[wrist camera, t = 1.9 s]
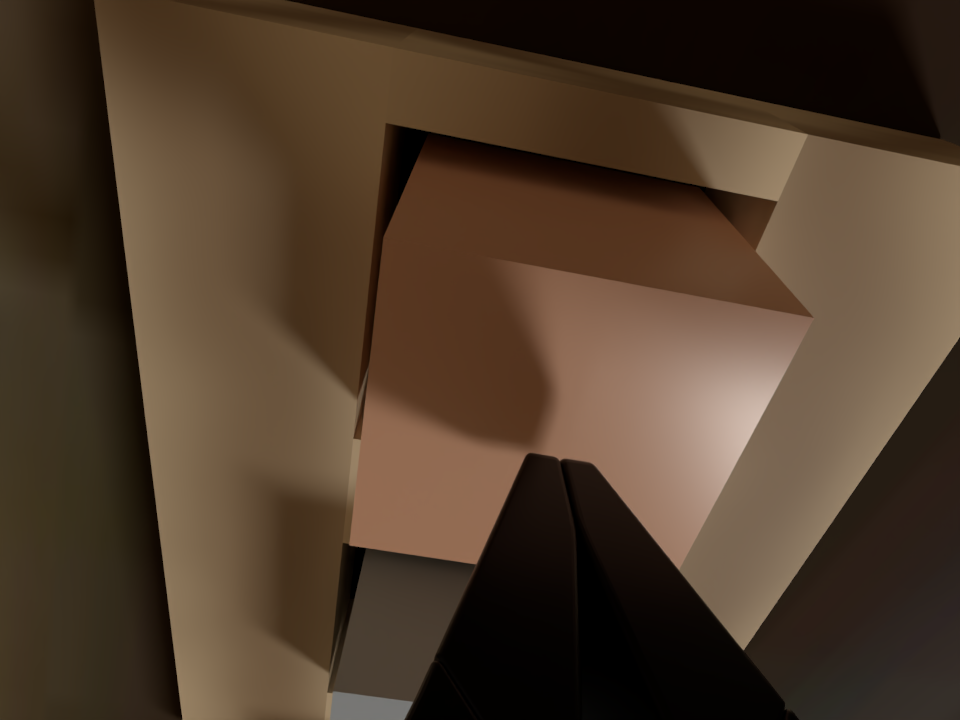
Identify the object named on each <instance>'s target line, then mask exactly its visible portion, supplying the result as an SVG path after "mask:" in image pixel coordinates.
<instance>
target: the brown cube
mask: <svg viewBox="0 0 960 720" xmlns="http://www.w3.org/2000/svg"><path fill="white" fill-rule="evenodd" d="M813 320H814V317H813V316H812V315H811V314H810V313H809V311H808V310H807V309H806V308H805V307H804V306H803V305H802V303H801V302H800V301H799V300H798V299H797V298H796V297H795V296H794V294H793V293H792V292H791V291H790V290H789V289H788V288H787V286H786V285H785V284H784V283H783V282H782V281H781V280H780V278H779V277H778V276H777V275H776V274H775V273H774V272H773V271H772V269H771V268H770V267H769V266H768V265H767V264H766V263H765V261H764V260H763V259H762V258H761V257H760V256H759V255H758V254H757V252H756V251H755V250H754V249H753V248H752V247H751V246H750V244H749V243H748V242H747V241H746V240H745V239H744V238H743V236H742V235H741V234H740V233H739V232H738V231H737V230H736V229H735V227H734V226H733V225H732V224H731V223H730V222H729V221H728V219H727V218H726V217H725V216H724V215H723V214H722V213H721V211H720V210H719V209H718V208H717V207H716V206H715V205H714V204H713V202H712V201H711V200H710V199H709V198H708V197H707V196H706V194H705V193H704V192H703V191H702V190H701V189H700V188H699V187H694V186H689V185H684V184H679V183H674V182H669V181H664V180H659V179H654V178H649V177H644V176H639V175H634V174H629V173H624V172H619V171H614V170H609V169H604V168H599V167H594V166H589V165H584V164H579V163H574V162H569V161H564V160H559V159H554V158H549V157H544V156H539V155H534V154H529V153H524V152H519V151H514V150H509V149H504V148H499V147H494V146H489V145H484V144H479V143H474V142H469V141H464V140H459V139H454V138H449V137H444V136H439V135H434V134H429V133H428V135H427V138H426V140H425V142H424V145H423V147H422V149H421V152H420V154H419V156H418V158H417V161H416V163H415V165H414V168H413V170H412V172H411V175H410V177H409V179H408V182H407V184H406V186H405V189H404V191H403V193H402V196H401V198H400V200H399V203H398V205H397V207H396V209H395V212H394V214H393V216H392V219H391V221H390V223H389V226H388V228H387V230H386V233H385V235H384V237H383V245H382V254H381V263H380V272H379V281H378V291H377V300H376V309H375V318H374V327H373V336H372V345H371V354H370V363H369V372H368V381H367V390H366V399H365V408H364V417H363V426H362V435H361V444H360V453H359V462H358V471H357V480H356V489H355V498H354V507H353V516H352V525H351V534H350V543H349V545H350V546H357V547H363V548H370V549H377V550H383V551H390V552H397V553H403V554H410V555H417V556H423V557H430V558H437V559H443V560H450V561H457V562H463V563H470V564H477V561H478V559H479V557H480V555H481V553H482V550H483V548H484V546H485V544H486V542H487V539H488V537H489V535H490V533H491V531H492V528H493V526H494V524H495V522H496V520H497V517H498V515H499V513H500V511H501V509H502V506H503V504H504V502H505V500H506V498H507V495H508V493H509V491H510V489H511V487H512V484H513V482H514V480H515V478H516V475H517V473H518V471H519V469H520V467H521V464H522V462H523V460H524V458H525V456H526V455H527V454H528V453H537V454H543V455H549V456H554V457H556V458H558V459H559V461H560V460H562V459H564V458H567V459H573V460H579V461H585V462H590V463H592V464H594V465H595V466H596V467H597V468H598V470H599V471H600V472H601V473H602V475H603V476H604V477H605V478H606V480H607V481H608V482H609V483H610V485H611V486H612V487H613V488H614V490H615V491H616V492H617V493H618V495H619V496H620V497H621V498H622V500H623V501H624V502H625V503H626V505H627V506H628V507H629V508H630V510H631V511H632V512H633V513H634V515H635V516H636V517H637V518H638V520H639V521H640V522H641V523H642V525H643V526H644V527H645V528H646V530H647V531H648V532H649V533H650V535H651V536H652V537H653V538H654V540H655V541H656V542H657V543H658V545H659V546H660V547H661V548H662V550H663V551H664V552H665V553H666V555H667V556H668V557H669V558H670V560H671V561H672V562H673V563H674V565H675V566H676V567H677V568H678V570H679V569H680V567H681V565H682V564H683V562H684V560H685V558H686V556H687V554H688V552H689V551H690V549H691V547H692V545H693V543H694V541H695V539H696V537H697V536H698V534H699V532H700V530H701V528H702V526H703V524H704V523H705V521H706V519H707V517H708V515H709V513H710V511H711V510H712V508H713V506H714V504H715V502H716V500H717V498H718V497H719V495H720V493H721V491H722V489H723V487H724V485H725V483H726V482H727V480H728V478H729V476H730V474H731V472H732V470H733V469H734V467H735V465H736V463H737V461H738V459H739V457H740V456H741V454H742V452H743V450H744V448H745V446H746V444H747V443H748V441H749V439H750V437H751V435H752V433H753V431H754V429H755V428H756V426H757V424H758V422H759V420H760V418H761V416H762V415H763V413H764V411H765V409H766V407H767V405H768V403H769V402H770V400H771V398H772V396H773V394H774V392H775V390H776V389H777V387H778V385H779V383H780V381H781V379H782V377H783V375H784V374H785V372H786V370H787V368H788V366H789V364H790V362H791V361H792V359H793V357H794V355H795V353H796V351H797V349H798V348H799V346H800V344H801V342H802V340H803V338H804V336H805V335H806V333H807V331H808V329H809V327H810V325H811V323H812V321H813Z"/></svg>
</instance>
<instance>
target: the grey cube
mask: <svg viewBox="0 0 960 720" xmlns="http://www.w3.org/2000/svg"><path fill="white" fill-rule="evenodd" d="M475 566H476V564H470V563H463V562H457V561H450V560H443V559H437V558H430V557H423V556H417V555H410V554H403V553H397V552H390V551H383V550H377V549H370V548H366V551H365V556H364V560H363V564H362V569H361V573H360V577H359V582H358V586H357V590H356V594H355V599H354V603H353V607H352V612H351V616H350V620H349V625H348V629H347V633H346V638H345V642H344V646H343V651H342V655H341V659H340V664H339V668H338V672H337V676H336V681H335V685H334V689H333V696H332V705H331V715H330V720H404V719H405V717H406V715H407V713H408V711H409V709H410V707H411V705H412V703H413V701H414V699H415V697H416V695H417V693H418V691H419V688H420V686H421V684H422V682H423V679H424V677H425V675H426V673H427V671H428V668H429V666H430V664H431V663H432V662H433V661H434V657H435V654H436V652H437V650H438V647H439V645H440V643H441V641H442V639H443V636H444V634H445V632H446V630H447V628H448V625H449V623H450V621H451V619H452V617H453V614H454V612H455V610H456V608H457V606H458V603H459V601H460V599H461V597H462V595H463V592H464V590H465V588H466V586H467V584H468V581H469V579H470V577H471V575H472V573H473V570H474V568H475Z"/></svg>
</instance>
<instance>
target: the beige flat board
mask: <svg viewBox="0 0 960 720" xmlns="http://www.w3.org/2000/svg"><path fill="white" fill-rule="evenodd" d="M94 4H95V12H96V20H97V28H98V36H99V45H100V53H101V61H102V69H103V77H104V85H105V93H106V101H107V110H108V118H109V126H110V134H111V142H112V150H113V158H114V167H115V175H116V183H117V191H118V199H119V207H120V215H121V223H122V232H123V240H124V248H125V256H126V264H127V272H128V280H129V289H130V297H131V305H132V313H133V321H134V329H135V337H136V346H137V354H138V362H139V370H140V378H141V386H142V394H143V402H144V411H145V419H146V427H147V435H148V443H149V451H150V459H151V468H152V476H153V484H154V492H155V500H156V508H157V516H158V524H159V533H160V541H161V549H162V557H163V565H164V573H165V581H166V590H167V598H168V606H169V614H170V622H171V630H172V638H173V646H174V655H175V663H176V671H177V679H178V687H179V695H180V703H181V712H182V720H330V715H331V705H332V696H333V689H334V685H335V681H336V676H337V672H338V668H339V664H340V659H341V655H342V651H343V646H344V642H345V638H346V633H347V629H348V625H349V620H350V616H351V612H352V607H353V603H354V599H352V598H350V593H351V585H352V576H353V568H354V559H355V551H356V546H350V545H349V543H350V534H351V525H352V516H353V507H354V498H355V489H356V480H357V471H358V462H359V453H360V444H361V435H362V426H363V417H364V408H365V399H366V390H367V381H368V372H369V363H370V354H371V345H372V336H373V327H374V318H375V309H376V300H377V291H378V281H379V272H380V263H381V254H382V245H383V237H384V235H385V233H386V230H387V228H388V226H389V223H390V221H391V219H392V216H393V214H394V212H395V209H396V207H397V199H398V191H399V183H400V174H401V166H402V158H403V149H404V141H405V132H406V127H409V128H414V129H419V130H424V131H429V132H434V133H439V134H444V135H449V136H454V137H459V138H464V139H469V140H474V141H479V142H484V143H489V144H494V145H499V146H504V147H509V148H514V149H519V150H524V151H529V152H534V153H539V154H544V155H549V156H554V157H559V158H564V159H569V160H574V161H579V162H584V163H589V164H594V165H599V166H604V167H609V168H614V169H619V170H624V171H629V172H634V173H639V174H644V175H649V176H654V177H659V178H663V179H668V180H673V181H678V182H683V183H688V184H693V185H698V186H703V187H706V190H705V192H704V193H705V194H706V196H707V197H708V198H709V199H710V200H711V201H712V202H713V204H714V205H715V206H716V207H717V208H718V209H719V210H720V211H721V213H722V214H723V215H724V216H725V217H726V218H727V219H728V221H729V222H730V223H731V224H732V225H733V226H734V227H735V229H736V230H737V231H738V232H739V233H740V234H741V235H742V236H743V238H744V239H745V240H746V241H747V242H748V243H749V244H750V246H751V247H752V248H753V249H754V250H755V251H756V252H757V254H758V255H759V256H760V257H761V258H762V259H763V260H764V261H765V263H766V264H767V265H768V266H769V267H770V268H771V269H772V271H773V272H774V273H775V274H776V275H777V276H778V277H779V278H780V280H781V281H782V282H783V283H784V284H785V285H786V286H787V288H788V289H789V290H790V291H791V292H792V293H793V294H794V296H795V297H796V298H797V299H798V300H799V301H800V302H801V303H802V305H803V306H804V307H805V308H806V309H807V310H808V311H809V313H810V314H811V315H812V316H813V317H814V320H813V321H812V323H811V325H810V327H809V329H808V331H807V333H806V335H805V336H804V338H803V340H802V342H801V344H800V346H799V348H798V349H797V351H796V353H795V355H794V357H793V359H792V361H791V362H790V364H789V366H788V368H787V370H786V372H785V374H784V375H783V377H782V379H781V381H780V383H779V385H778V387H777V389H776V390H775V392H774V394H773V396H772V398H771V400H770V402H769V403H768V405H767V407H766V409H765V411H764V413H763V415H762V416H761V418H760V420H759V422H758V424H757V426H756V428H755V429H754V431H753V433H752V435H751V437H750V439H749V441H748V443H747V444H746V446H745V448H744V450H743V452H742V454H741V456H740V457H739V459H738V461H737V463H736V465H735V467H734V469H733V470H732V472H731V474H730V476H729V478H728V480H727V482H726V483H725V485H724V487H723V489H722V491H721V493H720V495H719V497H718V498H717V500H716V502H715V504H714V506H713V508H712V510H711V511H710V513H709V515H708V517H707V519H706V521H705V523H704V524H703V526H702V528H701V530H700V532H699V534H698V536H697V537H696V539H695V541H694V543H693V545H692V547H691V549H690V551H689V552H688V554H687V556H686V558H685V560H684V562H683V564H682V565H681V567H680V569H679V571H680V572H681V573H682V575H683V576H684V577H685V578H686V580H687V581H688V582H689V583H690V585H691V586H692V587H693V588H694V589H695V591H696V592H697V593H698V594H699V596H700V597H701V598H702V599H703V601H704V602H705V603H706V604H707V606H708V607H709V608H710V609H711V611H712V612H713V613H714V614H715V616H716V617H717V618H718V619H719V621H720V622H721V623H722V624H723V626H724V627H725V628H726V629H727V631H728V632H729V633H730V634H731V636H732V637H733V638H734V639H735V641H736V642H737V643H738V644H739V646H740V647H741V648H742V649H743V650H744V649H745V647H746V646H747V644H748V643H749V641H750V640H751V639H752V637H753V636H754V634H755V633H756V631H757V630H758V628H759V627H760V626H761V624H762V623H763V621H764V620H765V618H766V617H767V615H768V614H769V613H770V611H771V610H772V608H773V607H774V605H775V604H776V602H777V601H778V599H779V598H780V597H781V595H782V594H783V592H784V591H785V589H786V588H787V586H788V585H789V584H790V582H791V581H792V579H793V578H794V576H795V575H796V573H797V572H798V571H799V569H800V568H801V566H802V565H803V563H804V562H805V560H806V559H807V557H808V556H809V555H810V553H811V552H812V550H813V549H814V547H815V546H816V544H817V543H818V542H819V540H820V539H821V537H822V536H823V534H824V533H825V531H826V530H827V529H828V527H829V526H830V524H831V523H832V521H833V520H834V518H835V517H836V515H837V514H838V513H839V511H840V510H841V508H842V507H843V505H844V504H845V502H846V501H847V500H848V498H849V497H850V495H851V494H852V492H853V491H854V489H855V488H856V487H857V485H858V484H859V482H860V481H861V479H862V478H863V476H864V475H865V474H866V472H867V471H868V469H869V468H870V466H871V465H872V463H873V462H874V460H875V459H876V458H877V456H878V455H879V453H880V452H881V450H882V449H883V447H884V446H885V445H886V443H887V442H888V440H889V439H890V437H891V436H892V434H893V433H894V432H895V430H896V429H897V427H898V426H899V424H900V423H901V421H902V420H903V418H904V417H905V416H906V414H907V413H908V411H909V410H910V408H911V407H912V405H913V404H914V403H915V401H916V400H917V398H918V397H919V395H920V394H921V392H922V391H923V390H924V388H925V387H926V385H927V384H928V382H929V381H930V379H931V378H932V376H933V375H934V374H935V372H936V371H937V369H938V368H939V366H940V365H941V363H942V362H943V361H944V359H945V358H946V356H947V355H948V353H949V352H950V350H951V349H952V348H953V346H954V345H955V343H956V342H957V340H958V339H959V337H960V146H957V145H955V144H952V143H950V142H947V141H945V140H942V139H937V138H932V137H928V136H923V135H918V134H913V133H909V132H904V131H899V130H895V129H890V128H885V127H881V126H876V125H871V124H866V123H862V122H857V121H852V120H848V119H843V118H838V117H833V116H829V115H824V114H819V113H815V112H810V111H805V110H800V109H796V108H791V107H786V106H782V105H777V104H772V103H767V102H763V101H758V100H753V99H749V98H744V97H739V96H734V95H730V94H725V93H720V92H716V91H711V90H706V89H701V88H697V87H692V86H687V85H683V84H678V83H673V82H668V81H664V80H659V79H654V78H650V77H645V76H640V75H635V74H631V73H626V72H621V71H617V70H612V69H607V68H602V67H598V66H593V65H588V64H584V63H579V62H574V61H569V60H565V59H560V58H555V57H551V56H546V55H541V54H537V53H532V52H527V51H522V50H518V49H513V48H508V47H504V46H499V45H494V44H489V43H485V42H480V41H475V40H471V39H466V38H461V37H456V36H452V35H447V34H442V33H438V32H433V31H428V30H423V29H419V28H414V27H409V26H405V25H400V24H395V23H390V22H386V21H381V20H376V19H372V18H367V17H362V16H357V15H353V14H348V13H343V12H339V11H334V10H329V9H324V8H320V7H315V6H310V5H306V4H301V3H296V2H291V1H287V0H94Z"/></svg>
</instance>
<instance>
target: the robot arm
mask: <svg viewBox="0 0 960 720" xmlns="http://www.w3.org/2000/svg"><path fill="white" fill-rule="evenodd" d="M404 720H799V719H798V718H797V716H796V715H795V714H794V713H793V711H791V710H790V709H786V710H785V702H784V701H783V699H782V698H781V697H780V696H779V694H778V693H777V692H776V691H775V689H774V688H773V687H772V686H771V684H770V683H769V682H768V681H767V679H766V678H765V677H764V676H763V674H762V673H761V672H760V671H759V669H758V668H757V667H756V666H755V664H754V663H753V662H752V661H751V659H750V658H749V657H748V656H747V654H746V653H745V652H744V651H743V649H742V648H741V647H740V646H739V644H738V643H737V642H736V641H735V639H734V638H733V637H732V636H731V634H730V633H729V632H728V631H727V629H726V628H725V627H724V626H723V624H722V623H721V622H720V621H719V619H718V618H717V617H716V616H715V614H714V613H713V612H712V611H711V609H710V608H709V607H708V606H707V604H706V603H705V602H704V601H703V599H702V598H701V597H700V596H699V594H698V593H697V592H696V591H695V589H694V588H693V587H692V586H691V585H690V583H689V582H688V581H687V580H686V578H685V577H684V576H683V575H682V573H681V572H680V571H679V570H678V568H677V567H676V566H675V565H674V563H673V562H672V561H671V560H670V558H669V557H668V556H667V555H666V553H665V552H664V551H663V550H662V548H661V547H660V546H659V545H658V543H657V542H656V541H655V540H654V538H653V537H652V536H651V535H650V533H649V532H648V531H647V530H646V528H645V527H644V526H643V525H642V523H641V522H640V521H639V520H638V518H637V517H636V516H635V515H634V513H633V512H632V511H631V510H630V508H629V507H628V506H627V505H626V503H625V502H624V501H623V500H622V498H621V497H620V496H619V495H618V493H617V492H616V491H615V490H614V488H613V487H612V486H611V485H610V483H609V482H608V481H607V480H606V478H605V477H604V476H603V475H602V473H601V472H600V471H599V470H598V468H597V467H596V466H595V465H594V464H592V463H590V462H585V461H579V460H573V459H567V458H564V459H562V460H560V461H559V459H558V458H556V457H554V456H549V455H543V454H537V453H528V454H527V455H526V456H525V458H524V460H523V462H522V464H521V467H520V469H519V471H518V473H517V475H516V478H515V480H514V482H513V484H512V487H511V489H510V491H509V493H508V495H507V498H506V500H505V502H504V504H503V506H502V509H501V511H500V513H499V515H498V517H497V520H496V522H495V524H494V526H493V528H492V531H491V533H490V535H489V537H488V539H487V542H486V544H485V546H484V548H483V550H482V553H481V555H480V557H479V559H478V561H477V564H476V566H475V568H474V570H473V573H472V575H471V577H470V579H469V581H468V584H467V586H466V588H465V590H464V592H463V595H462V597H461V599H460V601H459V603H458V606H457V608H456V610H455V612H454V614H453V617H452V619H451V621H450V623H449V625H448V628H447V630H446V632H445V634H444V636H443V639H442V641H441V643H440V645H439V647H438V650H437V652H436V654H435V657H434V661H433V662H432V663H431V664H430V666H429V668H428V671H427V673H426V675H425V677H424V679H423V682H422V684H421V686H420V688H419V691H418V693H417V695H416V697H415V699H414V701H413V703H412V705H411V707H410V709H409V711H408V713H407V715H406V717H405V719H404Z"/></svg>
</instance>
